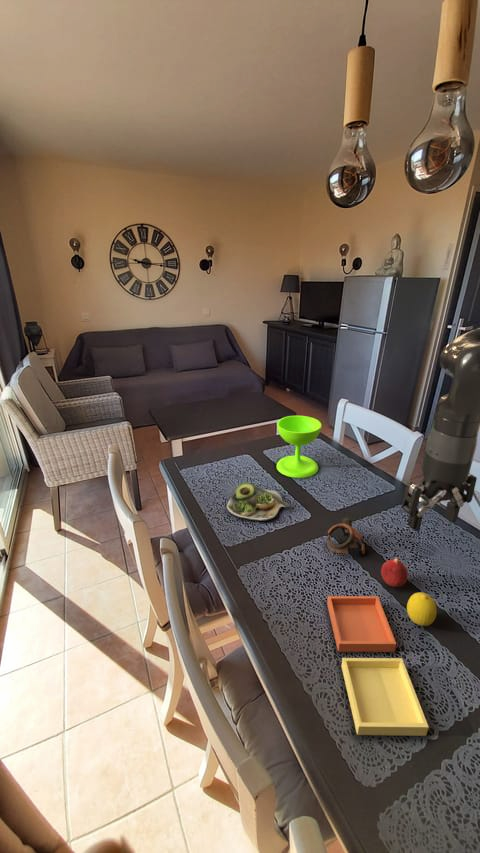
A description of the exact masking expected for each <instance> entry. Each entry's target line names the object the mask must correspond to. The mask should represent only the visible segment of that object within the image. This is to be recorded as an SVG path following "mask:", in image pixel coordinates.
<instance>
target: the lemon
mask: <svg viewBox="0 0 480 853" xmlns="http://www.w3.org/2000/svg"><path fill="white" fill-rule="evenodd" d="M406 611H407V616H408V617H409V619H410V620H411V621H412V622H413V623H414V624H416V625H418V626H421V627H427V626H430V625H432V624H433V623H434V621H435V620H436V617H437V613H438V612H437V605H436V602H435V600H434V598H433V597H431V595H430V594H427V593H425V592H422V591H421V592H415V593H413V594H412V595H410V597H409V599H408V601H407V604H406Z"/></svg>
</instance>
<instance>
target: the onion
mask: <svg viewBox="0 0 480 853" xmlns="http://www.w3.org/2000/svg"><path fill="white" fill-rule="evenodd" d="M380 569H381V570H380V575H381V578H382V580H383V581H384V582H385V583H386V584H387V585H388V586H390V587H392V588H400V587H403V586H404V585H405V584H406V583H407V582H408V579H409V578H408V577H409V576H408V575H409V572H408V570H407V567H406V566H405V564H404V563H403V562H401V561H400V560H399V558H398V557H395V558H394V559H389V560H386V561H385V562H384V563H383V564H382V566H381V568H380Z"/></svg>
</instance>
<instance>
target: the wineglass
mask: <svg viewBox="0 0 480 853" xmlns="http://www.w3.org/2000/svg"><path fill="white" fill-rule="evenodd" d="M276 428H277V431H278V434H279V436H280V437H281V438H282V439H283V441H284V442H286V443H288V444H290V445H292V446H295V448H294V449H295V451H294V454H292V455H287V456H284V457H282V458H280V459H279V460H278V461H277V463H276V471H278V472H279V473H280V474H281V475H284V476H286V477H289V478H295V479H305V478H309V477H312V476H314V475H316V474H317V473H318V471H319V465H318V463H317V462H316V461H315V460H314V459H313V458H311V457H307V456H304V455H301V449H302V448H301V447H302V446H306V445H309V444H311V443H313V442H314V441H315V440H316V439H317V438H318V436H319V435H320V433H321V430H322V423H321V421H320V420H318V419H316V418H315V417H311V416H306V415H287V416H283V417H282V418H280V419H278V421H277V422H276Z"/></svg>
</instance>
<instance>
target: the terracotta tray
mask: <svg viewBox="0 0 480 853" xmlns="http://www.w3.org/2000/svg"><path fill="white" fill-rule="evenodd" d="M326 605H327V611H328V613H329V614H328V615H329V618H330V622H331V627H332V631H333V637H334V640H335V645H336V649H337V653H395V652H396V648H397V642H396V639H395V637H394V634H393V631H392V629H391V626H390V624H389V621H388V618H387V616H386V613H385V610H384V608H383V605H382V603H381V601H380V599H379V596H378V595H376V596H375V595H374V596H373V595H367V596H366V595H359V596H358V595H351V596H350V595H349V596H348V595H342V596H341V595H339V596H338V595H334V596H333V595H328V596H327V603H326Z"/></svg>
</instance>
